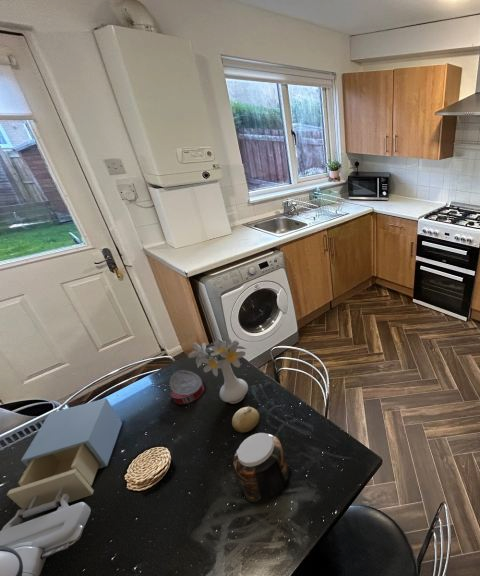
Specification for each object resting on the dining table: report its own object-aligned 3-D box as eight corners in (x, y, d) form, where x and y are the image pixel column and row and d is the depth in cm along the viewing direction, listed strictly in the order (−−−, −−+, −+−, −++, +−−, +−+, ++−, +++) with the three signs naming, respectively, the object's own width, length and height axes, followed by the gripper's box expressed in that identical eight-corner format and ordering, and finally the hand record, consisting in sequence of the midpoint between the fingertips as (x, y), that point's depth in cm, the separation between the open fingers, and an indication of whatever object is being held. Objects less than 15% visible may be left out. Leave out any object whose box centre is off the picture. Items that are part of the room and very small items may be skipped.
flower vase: (218, 383, 117) (198, 330, 105) (266, 384, 116) (251, 331, 104) (198, 412, 106) (173, 356, 94) (251, 414, 105) (233, 358, 93)
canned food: (197, 391, 120) (203, 367, 119) (204, 404, 113) (210, 379, 112) (162, 394, 112) (168, 369, 111) (167, 409, 105) (173, 382, 104)
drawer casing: (107, 466, 90) (87, 440, 84) (45, 486, 85) (20, 460, 79) (122, 422, 102) (106, 397, 97) (69, 438, 98) (49, 413, 92)
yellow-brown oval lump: (249, 439, 97) (244, 424, 93) (229, 432, 99) (223, 417, 96) (265, 418, 103) (261, 403, 100) (246, 412, 106) (241, 397, 102)
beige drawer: (85, 513, 78) (65, 491, 73) (19, 537, 74) (-7, 516, 69) (109, 447, 94) (94, 426, 89) (56, 464, 89) (37, 442, 85)
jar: (270, 511, 79) (258, 477, 72) (234, 494, 83) (219, 460, 75) (296, 467, 89) (288, 434, 81) (263, 454, 92) (252, 421, 85)
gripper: (69, 538, 66) (91, 477, 77) (-67, 591, 59) (-22, 515, 70) (84, 550, 69) (103, 490, 80) (-44, 602, 62) (-4, 528, 73)
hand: (44, 502), depth 75 cm, fingers closed on beige drawer, 6 cm apart
